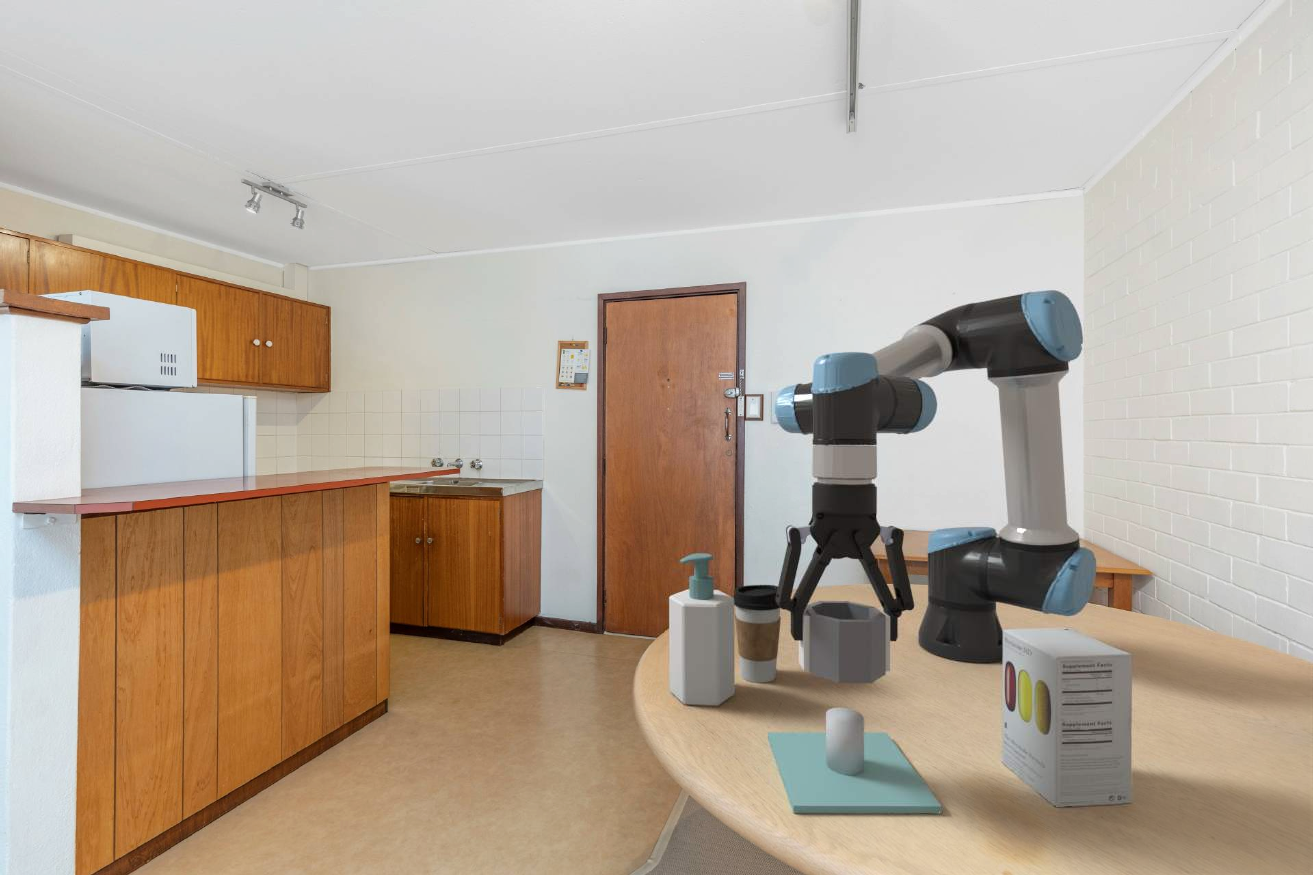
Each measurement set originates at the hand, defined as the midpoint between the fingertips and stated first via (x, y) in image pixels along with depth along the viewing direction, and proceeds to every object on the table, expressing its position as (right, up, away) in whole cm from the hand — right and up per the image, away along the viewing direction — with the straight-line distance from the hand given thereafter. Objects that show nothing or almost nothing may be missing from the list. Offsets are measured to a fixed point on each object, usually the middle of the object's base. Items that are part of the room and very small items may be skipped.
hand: (843, 666), depth 72 cm
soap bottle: (-15, -13, +22) cm, 30 cm away
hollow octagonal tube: (0, 0, 0) cm, 0 cm away
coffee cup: (-5, -13, +29) cm, 32 cm away
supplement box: (+25, -13, -2) cm, 28 cm away
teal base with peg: (0, -13, 0) cm, 13 cm away
